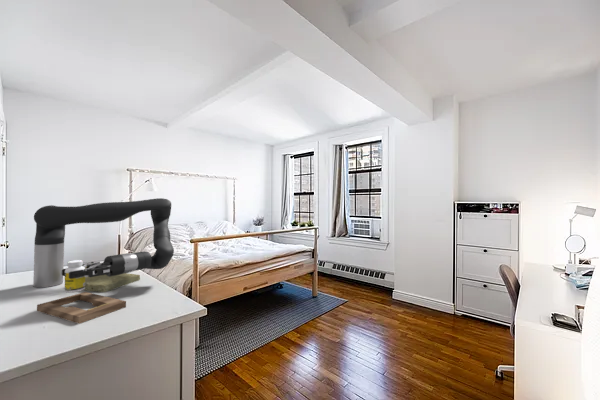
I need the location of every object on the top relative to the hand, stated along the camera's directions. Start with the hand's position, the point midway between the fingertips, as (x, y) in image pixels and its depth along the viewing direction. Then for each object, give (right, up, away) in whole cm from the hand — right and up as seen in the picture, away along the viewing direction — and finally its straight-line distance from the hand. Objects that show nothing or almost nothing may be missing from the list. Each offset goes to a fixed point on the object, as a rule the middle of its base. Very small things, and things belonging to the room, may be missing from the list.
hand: (65, 274), depth 90 cm
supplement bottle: (+1, -6, +2) cm, 7 cm away
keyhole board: (+6, -12, 0) cm, 13 cm away
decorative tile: (-7, -12, +27) cm, 31 cm away
